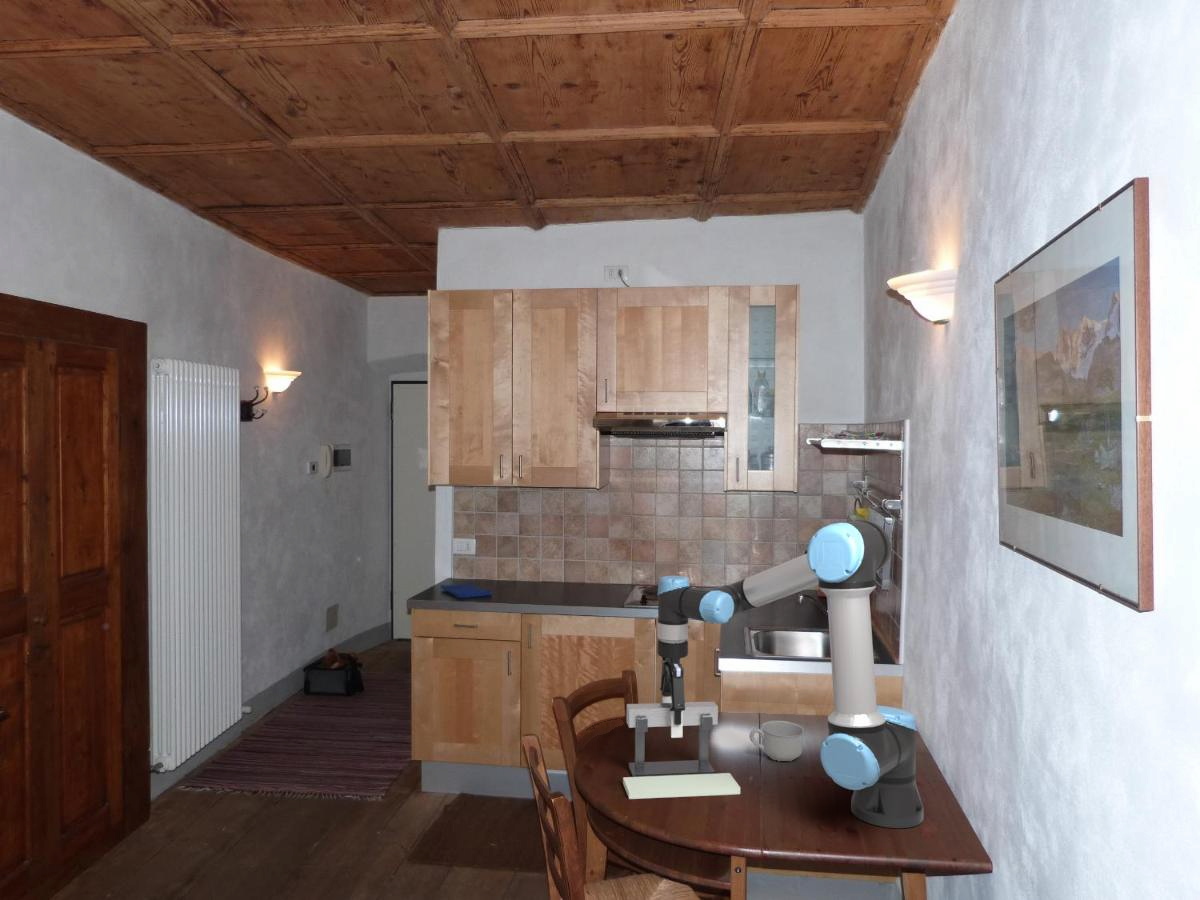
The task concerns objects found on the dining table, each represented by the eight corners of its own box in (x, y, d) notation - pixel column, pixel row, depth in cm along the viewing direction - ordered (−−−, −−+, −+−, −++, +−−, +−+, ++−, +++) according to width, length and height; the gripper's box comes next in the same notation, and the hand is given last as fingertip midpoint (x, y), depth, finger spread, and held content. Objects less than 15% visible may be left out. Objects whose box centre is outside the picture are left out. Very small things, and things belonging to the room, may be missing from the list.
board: (740, 794, 205) (740, 787, 205) (629, 799, 201) (629, 792, 201) (729, 779, 214) (729, 773, 213) (623, 783, 210) (623, 777, 210)
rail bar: (717, 724, 217) (717, 706, 217) (629, 727, 214) (629, 709, 214) (713, 719, 221) (713, 701, 221) (626, 722, 218) (626, 704, 218)
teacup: (801, 751, 233) (801, 721, 233) (806, 766, 222) (807, 734, 222) (747, 749, 235) (747, 719, 234) (750, 764, 224) (750, 732, 224)
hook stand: (715, 776, 215) (716, 717, 215) (634, 779, 213) (634, 719, 212) (707, 764, 223) (707, 707, 223) (628, 767, 221) (629, 709, 220)
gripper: (698, 650, 207) (697, 745, 207) (677, 629, 229) (677, 714, 229) (667, 650, 206) (666, 746, 206) (649, 629, 228) (648, 715, 228)
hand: (672, 729), depth 218 cm, fingers open, 10 cm apart
